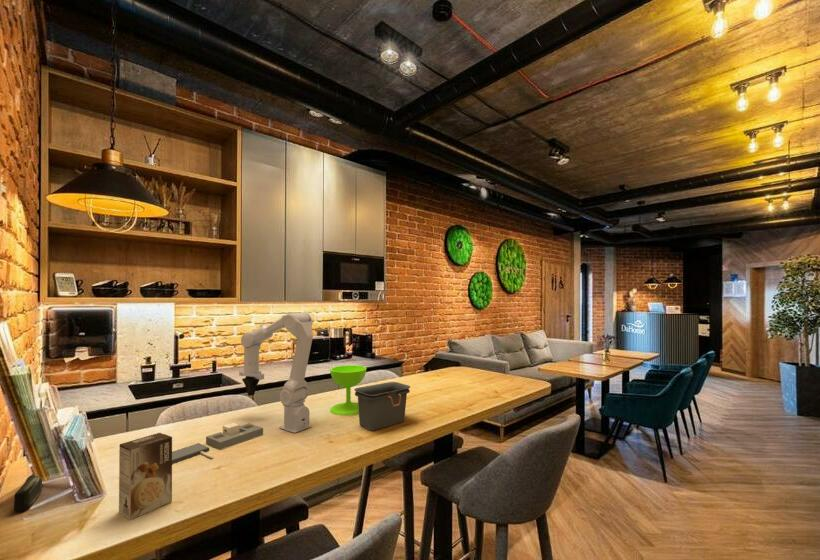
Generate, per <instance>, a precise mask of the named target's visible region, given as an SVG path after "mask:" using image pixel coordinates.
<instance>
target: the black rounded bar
mask: <svg viewBox="0 0 820 560" xmlns="http://www.w3.org/2000/svg"><path fill="white" fill-rule="evenodd" d="M34 474H35V473H33V474H31V475H29V476H28V477H27V478H26V479H25V482H24V483H23V484H22V485H21V487H19V489H18V490H17V491H16V492H15V493H14V495H13V496H14V498H13V499H14V501H13V511H14V513H17V512H21V511H25V510H27V509H28V508H30V507H31V506H32V504H34V502H35V501H36V499H37V498H38V497H39V495H40V494H41V493H42V491H43V488H44V485H43V484H42V479H41V478H40V477H38V476H35V475H34Z"/></svg>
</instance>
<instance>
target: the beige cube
mask: <svg viewBox="0 0 820 560" xmlns="http://www.w3.org/2000/svg"><path fill="white" fill-rule="evenodd" d="M239 426H240V424H238V423H237V422H236V423H235V422H231V423H227V424H224V425H222V433H224V434H227V435H229V436H232V435H235V434H238V433H239Z"/></svg>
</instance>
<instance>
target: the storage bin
mask: <svg viewBox="0 0 820 560" xmlns="http://www.w3.org/2000/svg"><path fill="white" fill-rule="evenodd" d="M410 388H411V386H410V385H409V384H406V383H405V384H404V383H400V382H398V381H390V382H389V381H388V382H383V383H377V384H373V385H372V384H370V385H365V386H360V387H355V388H354V389H353V390H354V391H355V392H354V396H355V397H357V403H358V407H359V414H358V420H359V426H361V427H363V428H365V429H367V430H369V431H377V430H379V429H383V428H387V427H389V426H393V425H398V424H401V423H403V422H405V417H406V407H407V405H406V404H407V396H408V394H409V393H410V392H411V391H410Z"/></svg>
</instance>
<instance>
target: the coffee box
mask: <svg viewBox="0 0 820 560" xmlns="http://www.w3.org/2000/svg"><path fill="white" fill-rule="evenodd" d="M118 446H119V449H118V450H119V460H118V461H119V465H118V467H119V468H118V470H119V471H118V473H119V474H118V483H119V484H118V513H119V514H121V515H122V516H124V517H126V518H127V519H128V520H133V519H136V518H138V517H140V516H143V515H144V514H147V513H149V512H151V511H154V510H156V509H158V508H160V507H162V506H165V505H167V504H170V503H171V502H173V464H172V452H173V437H172V436H170V435H168V434H166V433H163V432H157V433H154V434H150V435H146V436H143V437H139V438H136V439H132V440H129V441H125V442H123V443H120V444H119V445H118Z"/></svg>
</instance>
